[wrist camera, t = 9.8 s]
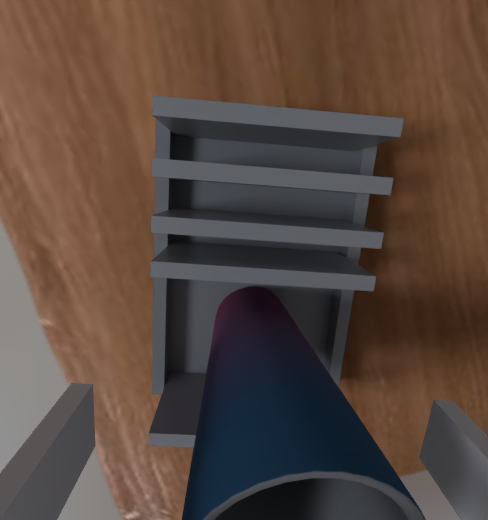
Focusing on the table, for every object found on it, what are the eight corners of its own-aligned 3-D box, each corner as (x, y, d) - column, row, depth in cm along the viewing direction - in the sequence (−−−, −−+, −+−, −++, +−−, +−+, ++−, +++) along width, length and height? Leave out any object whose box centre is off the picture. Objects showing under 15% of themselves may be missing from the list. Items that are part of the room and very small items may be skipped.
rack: (166, 124, 21) (131, 93, 14) (361, 141, 21) (423, 120, 14) (160, 371, 25) (132, 444, 18) (325, 380, 25) (360, 453, 18)
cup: (313, 293, 23) (483, 509, 8) (275, 373, 24) (359, 676, 10) (223, 259, 21) (232, 440, 7) (188, 345, 23) (136, 642, 8)
